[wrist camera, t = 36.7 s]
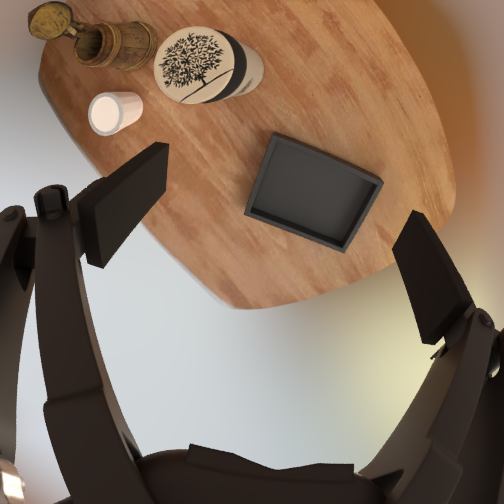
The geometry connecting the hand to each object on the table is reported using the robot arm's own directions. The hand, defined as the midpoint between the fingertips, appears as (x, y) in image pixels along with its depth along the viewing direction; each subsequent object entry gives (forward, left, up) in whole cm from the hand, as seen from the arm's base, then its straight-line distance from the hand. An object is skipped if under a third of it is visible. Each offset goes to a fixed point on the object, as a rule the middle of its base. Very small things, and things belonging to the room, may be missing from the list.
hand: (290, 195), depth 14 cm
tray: (-6, +10, -29) cm, 31 cm away
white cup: (+27, +6, -29) cm, 40 cm away
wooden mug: (+31, -6, -29) cm, 43 cm away
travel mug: (+11, -4, -29) cm, 32 cm away
